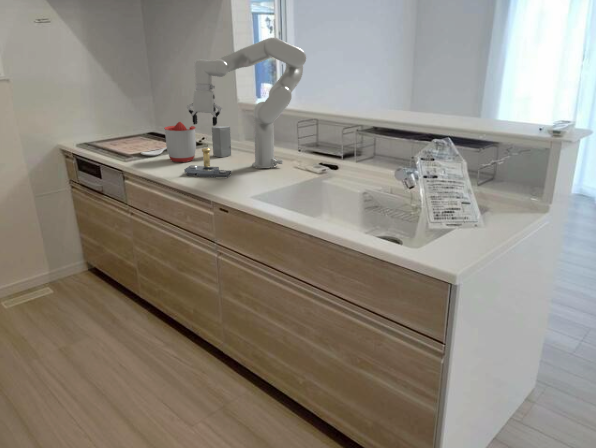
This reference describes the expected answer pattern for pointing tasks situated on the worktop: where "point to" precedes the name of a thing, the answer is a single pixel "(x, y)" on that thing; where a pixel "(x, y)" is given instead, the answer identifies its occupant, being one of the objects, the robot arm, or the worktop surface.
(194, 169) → the upper link
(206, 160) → the brass pin
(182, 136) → the citrus juicer
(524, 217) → the worktop surface
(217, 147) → the skincare box
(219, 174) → the lower link
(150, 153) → the spoon
